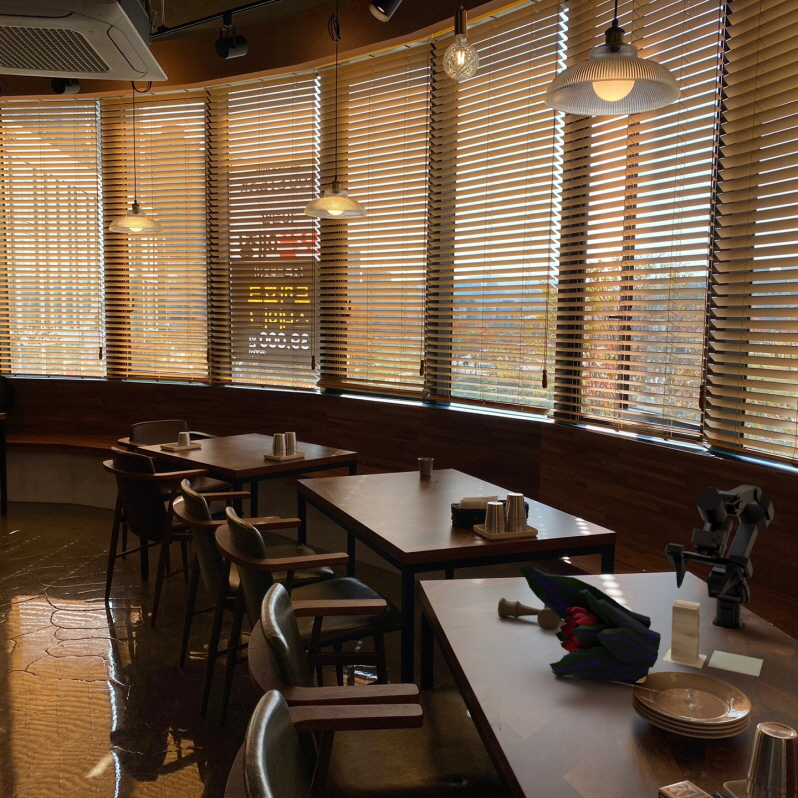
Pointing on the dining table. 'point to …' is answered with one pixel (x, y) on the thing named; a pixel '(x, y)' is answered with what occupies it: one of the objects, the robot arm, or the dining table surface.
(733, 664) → the green mat
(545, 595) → the decorative plant
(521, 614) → the kendama
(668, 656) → the tile
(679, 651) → the maple block
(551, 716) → the dining table surface
